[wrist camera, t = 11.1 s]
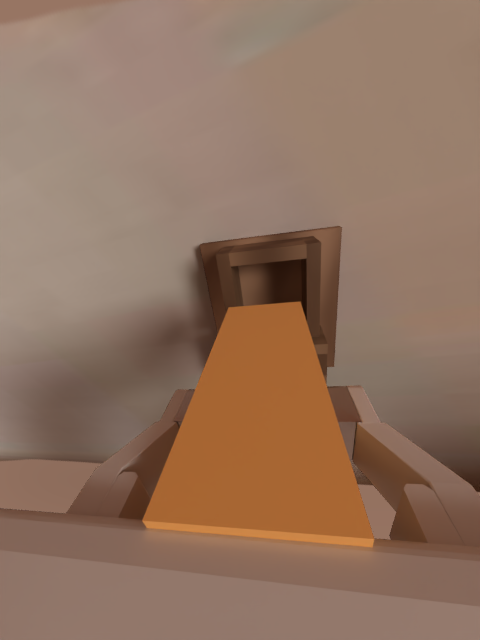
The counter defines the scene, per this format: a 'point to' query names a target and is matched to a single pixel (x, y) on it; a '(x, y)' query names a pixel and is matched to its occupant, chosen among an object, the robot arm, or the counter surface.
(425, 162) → the counter surface
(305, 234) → the socket holder
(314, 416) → the square peg
